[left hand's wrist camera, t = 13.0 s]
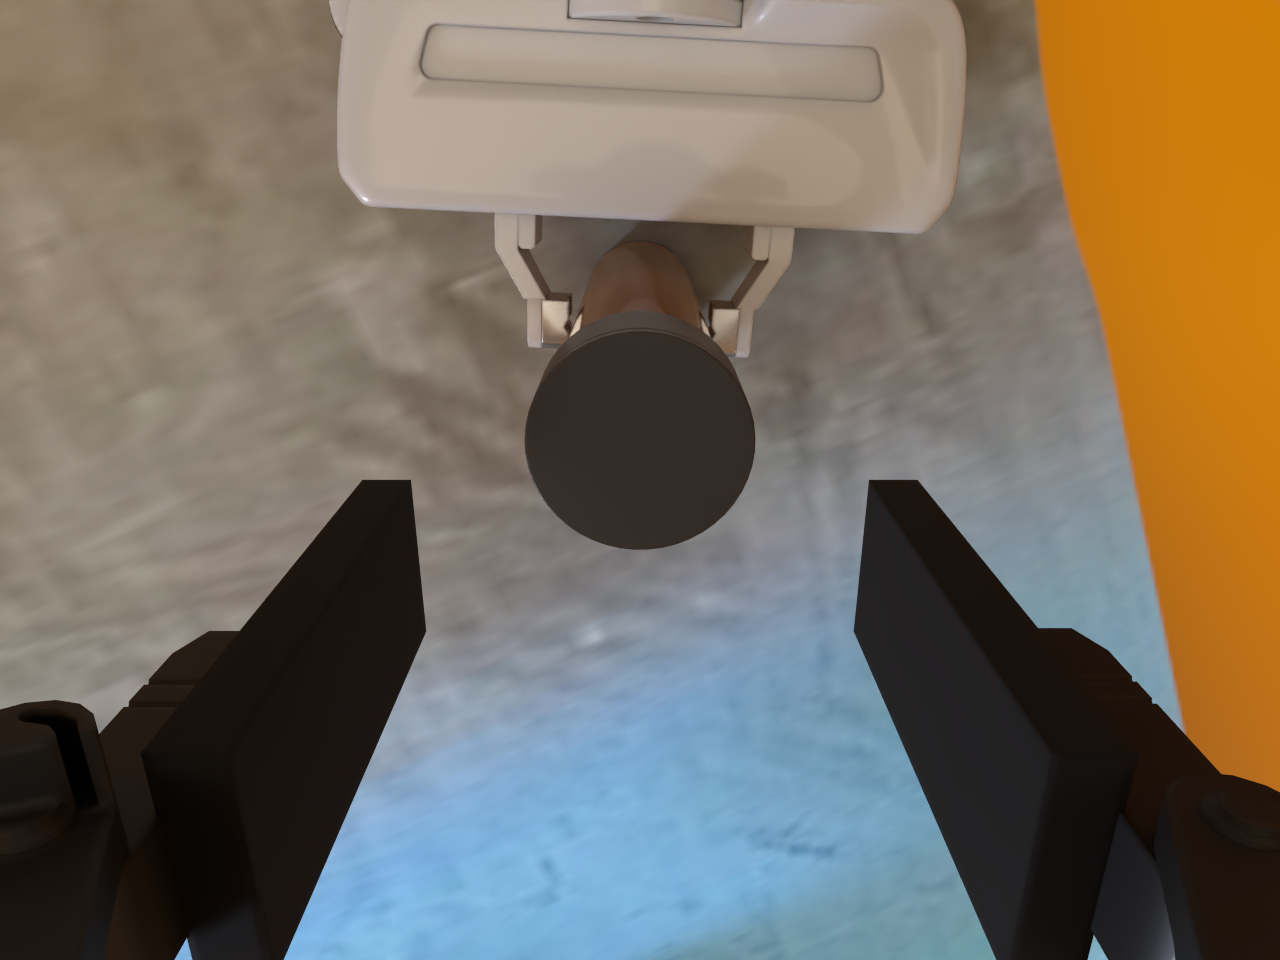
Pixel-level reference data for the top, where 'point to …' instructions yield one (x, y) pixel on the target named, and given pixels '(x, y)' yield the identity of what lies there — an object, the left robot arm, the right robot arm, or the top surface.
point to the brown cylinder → (640, 286)
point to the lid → (640, 431)
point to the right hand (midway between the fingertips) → (638, 349)
